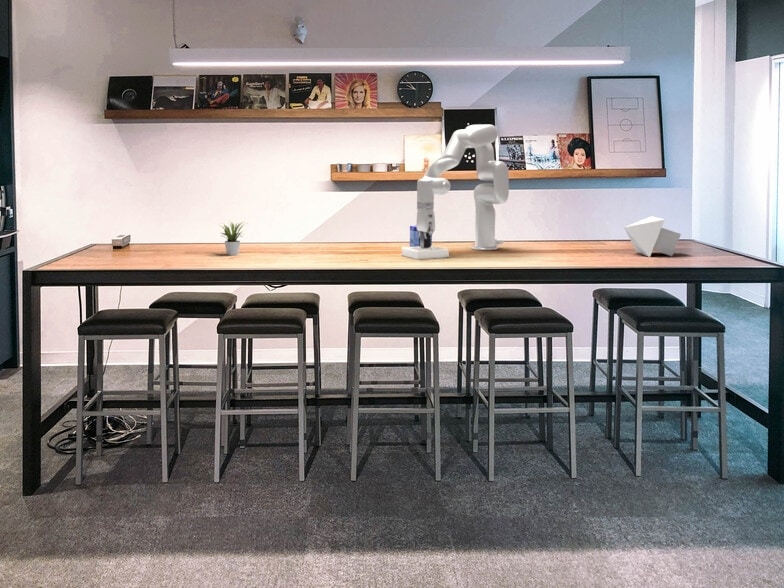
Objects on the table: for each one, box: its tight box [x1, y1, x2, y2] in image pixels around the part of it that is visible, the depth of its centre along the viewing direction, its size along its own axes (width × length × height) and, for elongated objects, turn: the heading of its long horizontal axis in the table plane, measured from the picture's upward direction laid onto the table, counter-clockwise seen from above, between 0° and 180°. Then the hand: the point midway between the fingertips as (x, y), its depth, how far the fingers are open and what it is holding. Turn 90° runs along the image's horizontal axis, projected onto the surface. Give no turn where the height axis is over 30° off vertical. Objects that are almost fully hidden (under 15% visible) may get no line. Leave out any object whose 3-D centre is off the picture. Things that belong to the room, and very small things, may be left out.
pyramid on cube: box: [623, 215, 682, 258], centre depth 369 cm, size 17×24×18 cm
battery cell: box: [420, 232, 429, 249], centre depth 364 cm, size 4×4×8 cm
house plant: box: [219, 220, 249, 256], centre depth 371 cm, size 14×14×16 cm
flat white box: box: [401, 245, 450, 261], centre depth 365 cm, size 16×16×4 cm
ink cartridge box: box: [409, 225, 433, 247], centre depth 383 cm, size 10×6×14 cm, turn 115°
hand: (424, 246), depth 364 cm, fingers closed on battery cell, 4 cm apart
